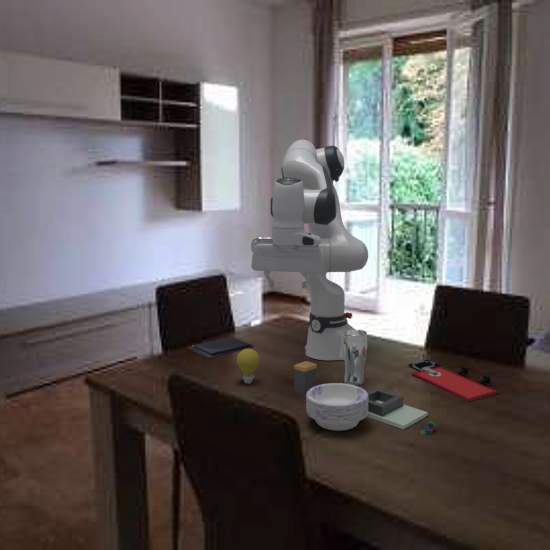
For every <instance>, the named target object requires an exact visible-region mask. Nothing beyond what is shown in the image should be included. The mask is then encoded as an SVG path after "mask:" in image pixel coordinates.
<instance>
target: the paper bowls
mask: <svg viewBox="0 0 550 550" xmlns="http://www.w3.org/2000/svg"><path fill="white" fill-rule="evenodd" d="M367 392H368V391H366V390H365V389H364V388H362V387H361V386H360V387H359V385H350V384H346V383H342V382H335V383H334V382H331V383H322V384H318V385H317V386H315V387H313V388H311V389H309V390H308V391H307V393H306V396H305V397H306V399H305V404H306V405H305V408H306V409H305V410H306V414H307V415H308V417H310V418H311V419H313V420H315V422H316V424H317V425H318V426H319V427H321V428H322V429H326V430H328V431H329V430H330V431H333V432H334V431H335V432H339V431H340V432H342V431H349V430H351V429H353V428H355V427H357V425H358V424H359V423H360V421H362V420H364V419H366V417H367V415H368V398H369V397H368V393H367Z"/></svg>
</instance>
